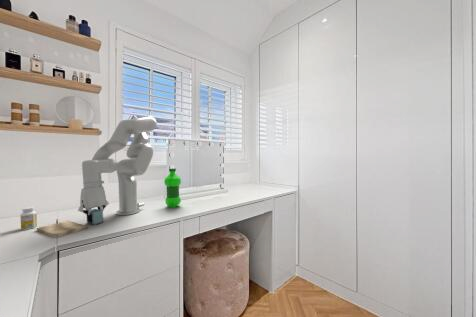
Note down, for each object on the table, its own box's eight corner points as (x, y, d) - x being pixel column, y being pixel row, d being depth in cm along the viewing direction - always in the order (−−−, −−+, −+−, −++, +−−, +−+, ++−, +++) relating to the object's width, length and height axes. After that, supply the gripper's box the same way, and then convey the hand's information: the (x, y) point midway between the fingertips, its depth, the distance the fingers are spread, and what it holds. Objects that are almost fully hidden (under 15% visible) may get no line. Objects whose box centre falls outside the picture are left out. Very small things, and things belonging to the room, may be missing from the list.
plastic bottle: (161, 208, 134) (160, 169, 133) (170, 204, 144) (169, 167, 143) (175, 208, 131) (175, 169, 131) (184, 204, 141) (183, 167, 141)
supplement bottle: (29, 226, 103) (28, 206, 102) (40, 226, 102) (39, 206, 102) (17, 230, 97) (16, 209, 97) (28, 230, 97) (28, 209, 97)
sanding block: (86, 222, 106) (86, 210, 105) (95, 219, 109) (94, 208, 109) (94, 224, 102) (94, 212, 102) (103, 222, 106) (102, 210, 105)
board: (67, 222, 106) (67, 220, 106) (87, 228, 98) (87, 225, 98) (36, 230, 96) (36, 228, 96) (55, 237, 87) (55, 234, 87)
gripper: (105, 181, 114) (107, 214, 115) (69, 187, 99) (72, 225, 100) (113, 182, 110) (115, 216, 111) (77, 188, 95) (80, 227, 96)
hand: (95, 220), depth 106 cm, fingers closed on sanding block, 4 cm apart
